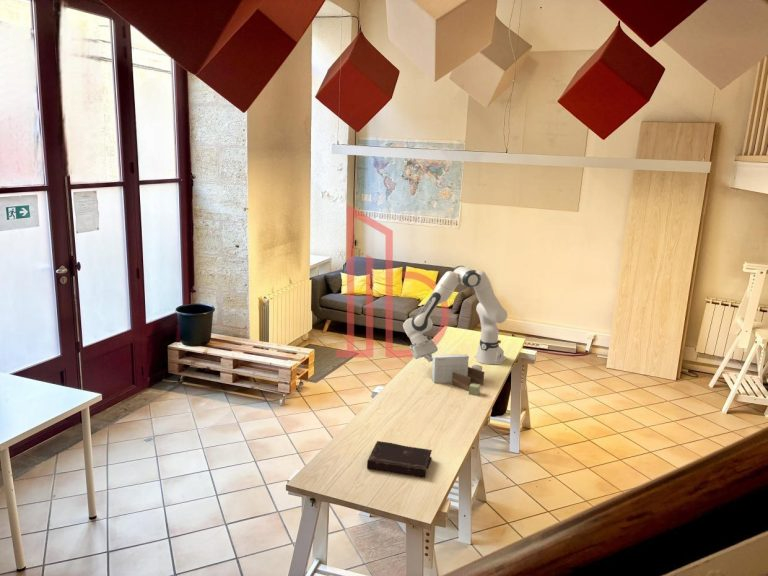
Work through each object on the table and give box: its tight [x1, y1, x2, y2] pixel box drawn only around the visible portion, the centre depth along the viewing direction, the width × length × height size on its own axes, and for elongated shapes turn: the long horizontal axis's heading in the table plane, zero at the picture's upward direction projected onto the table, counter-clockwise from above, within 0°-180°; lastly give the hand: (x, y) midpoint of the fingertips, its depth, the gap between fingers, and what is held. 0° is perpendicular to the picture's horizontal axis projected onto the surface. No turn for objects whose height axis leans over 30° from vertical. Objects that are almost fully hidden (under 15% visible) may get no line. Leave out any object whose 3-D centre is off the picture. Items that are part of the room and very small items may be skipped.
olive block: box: [468, 382, 481, 397], centre depth 339 cm, size 5×5×5 cm
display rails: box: [451, 366, 485, 392], centre depth 351 cm, size 15×12×8 cm
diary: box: [366, 440, 433, 479], centre depth 259 cm, size 19×25×5 cm
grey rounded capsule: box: [471, 364, 483, 371], centre depth 362 cm, size 6×6×8 cm
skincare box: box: [431, 353, 470, 384], centre depth 356 cm, size 21×5×16 cm, turn 102°
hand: (431, 361), depth 369 cm, fingers closed
